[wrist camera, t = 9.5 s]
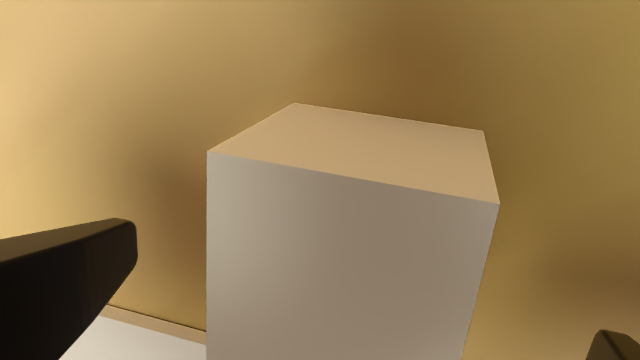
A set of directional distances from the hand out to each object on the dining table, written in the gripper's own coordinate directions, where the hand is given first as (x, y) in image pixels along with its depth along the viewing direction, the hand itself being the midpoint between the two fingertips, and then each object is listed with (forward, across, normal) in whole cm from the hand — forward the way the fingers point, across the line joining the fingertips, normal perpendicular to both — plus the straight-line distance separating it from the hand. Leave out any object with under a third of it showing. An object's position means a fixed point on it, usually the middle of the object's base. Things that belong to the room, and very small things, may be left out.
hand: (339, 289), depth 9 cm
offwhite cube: (+5, 0, 0) cm, 5 cm away
